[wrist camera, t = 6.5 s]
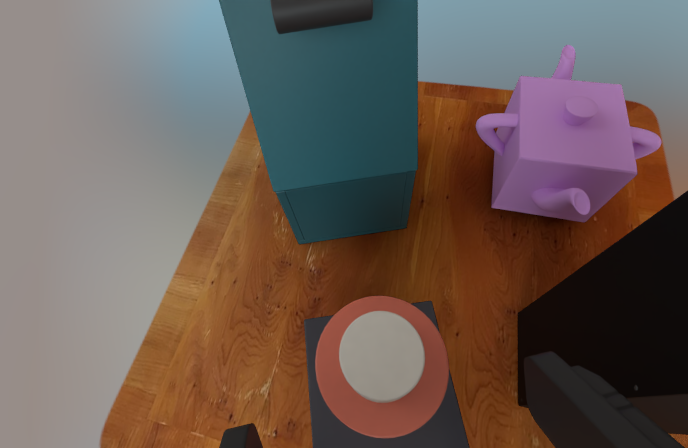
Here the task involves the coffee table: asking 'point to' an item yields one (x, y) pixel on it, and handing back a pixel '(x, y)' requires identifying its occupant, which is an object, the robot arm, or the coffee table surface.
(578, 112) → the teapot
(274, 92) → the case lid
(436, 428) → the stand
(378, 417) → the lotion bottle
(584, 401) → the robot arm
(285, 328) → the coffee table surface
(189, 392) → the coffee table surface
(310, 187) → the wipes case
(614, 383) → the tissue box
